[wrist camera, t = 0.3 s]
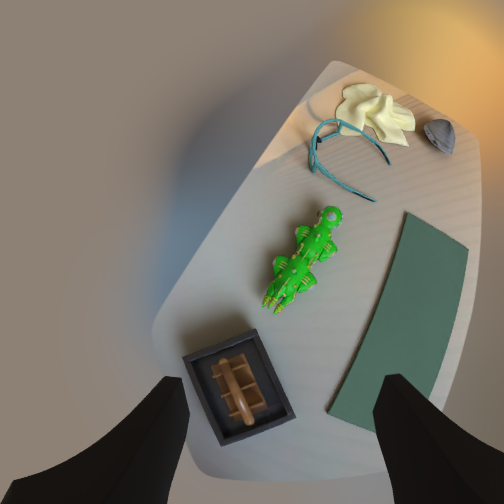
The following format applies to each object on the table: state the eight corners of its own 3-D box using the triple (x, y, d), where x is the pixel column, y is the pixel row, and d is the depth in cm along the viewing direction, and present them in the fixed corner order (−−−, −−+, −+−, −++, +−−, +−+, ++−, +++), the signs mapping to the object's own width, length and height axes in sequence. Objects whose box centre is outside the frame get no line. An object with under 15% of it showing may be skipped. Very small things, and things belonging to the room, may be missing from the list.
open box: (292, 413, 34) (296, 417, 30) (224, 439, 32) (221, 446, 29) (255, 332, 38) (255, 328, 35) (188, 358, 37) (182, 357, 33)
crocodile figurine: (350, 228, 44) (359, 214, 40) (287, 327, 38) (291, 322, 34) (315, 206, 45) (320, 190, 41) (246, 299, 40) (246, 291, 36)
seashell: (425, 117, 55) (433, 103, 50) (453, 136, 53) (462, 123, 48) (415, 143, 51) (424, 127, 47) (447, 165, 49) (457, 150, 45)
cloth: (354, 78, 59) (360, 59, 54) (422, 115, 55) (431, 97, 50) (314, 120, 53) (318, 97, 47) (397, 168, 48) (410, 147, 43)
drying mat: (405, 442, 31) (407, 443, 30) (326, 413, 34) (327, 414, 33) (467, 250, 42) (468, 249, 42) (406, 213, 45) (408, 212, 44)
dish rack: (268, 408, 33) (271, 418, 27) (235, 421, 33) (231, 433, 26) (243, 353, 36) (241, 350, 29) (211, 365, 36) (201, 365, 29)
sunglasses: (324, 123, 52) (331, 106, 48) (390, 163, 51) (401, 148, 46) (292, 169, 48) (298, 151, 43) (368, 215, 46) (382, 201, 41)
